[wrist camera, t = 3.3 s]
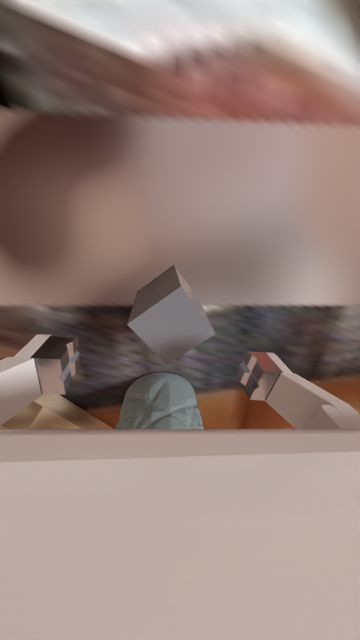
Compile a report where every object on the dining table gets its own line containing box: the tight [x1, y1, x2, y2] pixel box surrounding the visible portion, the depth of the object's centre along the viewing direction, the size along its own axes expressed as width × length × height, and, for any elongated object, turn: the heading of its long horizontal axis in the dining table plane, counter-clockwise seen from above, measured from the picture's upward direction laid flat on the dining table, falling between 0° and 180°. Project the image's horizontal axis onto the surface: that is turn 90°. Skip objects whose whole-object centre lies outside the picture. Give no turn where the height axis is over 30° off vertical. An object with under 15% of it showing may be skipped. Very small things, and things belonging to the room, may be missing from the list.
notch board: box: [0, 394, 113, 430], centre depth 21 cm, size 14×8×5 cm, turn 35°
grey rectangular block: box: [127, 265, 216, 364], centre depth 14 cm, size 4×4×6 cm
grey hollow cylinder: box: [115, 372, 204, 429], centre depth 18 cm, size 10×10×12 cm
